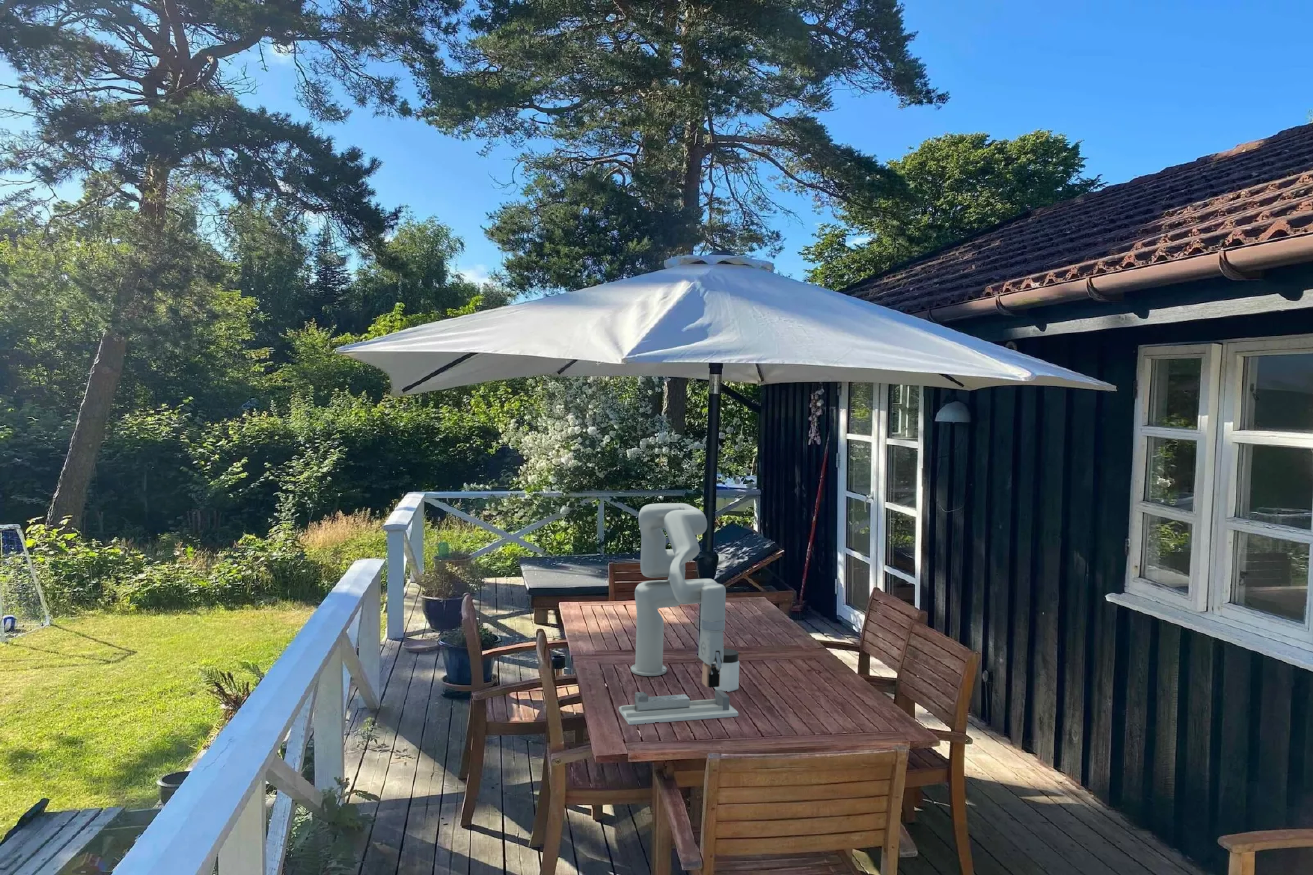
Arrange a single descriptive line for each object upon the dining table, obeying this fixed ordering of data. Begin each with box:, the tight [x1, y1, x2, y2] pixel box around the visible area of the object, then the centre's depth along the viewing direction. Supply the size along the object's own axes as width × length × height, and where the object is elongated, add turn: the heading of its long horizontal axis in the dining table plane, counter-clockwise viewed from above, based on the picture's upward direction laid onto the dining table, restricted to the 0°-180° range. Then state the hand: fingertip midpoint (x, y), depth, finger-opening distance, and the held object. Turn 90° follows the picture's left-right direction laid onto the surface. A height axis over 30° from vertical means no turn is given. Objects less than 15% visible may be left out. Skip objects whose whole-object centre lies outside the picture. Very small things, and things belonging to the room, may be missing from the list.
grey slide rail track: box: [618, 689, 739, 726], centre depth 259 cm, size 12×34×5 cm, turn 107°
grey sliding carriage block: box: [634, 691, 691, 712], centre depth 258 cm, size 4×16×5 cm, turn 107°
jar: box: [713, 648, 740, 693], centre depth 285 cm, size 9×8×12 cm
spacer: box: [701, 663, 720, 688], centre depth 262 cm, size 4×4×6 cm
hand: (710, 683), depth 262 cm, fingers closed on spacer, 4 cm apart
